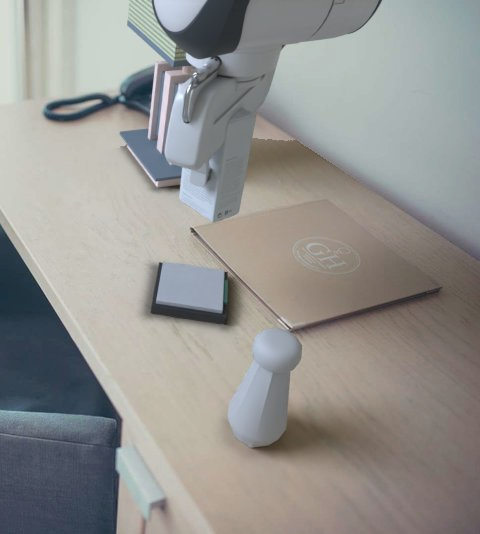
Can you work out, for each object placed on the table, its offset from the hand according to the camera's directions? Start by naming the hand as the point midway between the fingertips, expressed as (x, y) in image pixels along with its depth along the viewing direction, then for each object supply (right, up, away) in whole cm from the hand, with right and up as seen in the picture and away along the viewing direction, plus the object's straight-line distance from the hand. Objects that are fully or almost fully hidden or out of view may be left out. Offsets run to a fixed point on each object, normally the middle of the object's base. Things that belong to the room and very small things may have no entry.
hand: (211, 169), depth 70 cm
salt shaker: (+3, -27, -5) cm, 28 cm away
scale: (0, -14, +11) cm, 18 cm away
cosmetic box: (0, -4, +3) cm, 5 cm away
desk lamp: (+2, +7, +39) cm, 39 cm away
